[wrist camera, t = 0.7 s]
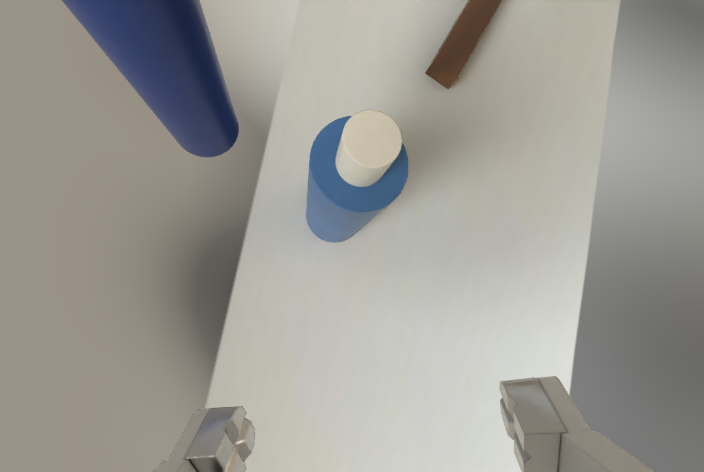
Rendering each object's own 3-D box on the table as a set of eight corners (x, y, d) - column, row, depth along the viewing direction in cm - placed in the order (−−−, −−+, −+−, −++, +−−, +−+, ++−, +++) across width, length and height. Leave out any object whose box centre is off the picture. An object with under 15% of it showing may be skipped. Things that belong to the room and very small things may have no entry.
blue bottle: (295, 223, 30) (287, 155, 13) (324, 177, 31) (350, 59, 14) (344, 252, 30) (396, 221, 14) (371, 205, 31) (450, 122, 15)
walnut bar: (424, 73, 34) (433, 61, 32) (479, -20, 37) (490, -36, 35) (448, 89, 35) (457, 78, 33) (501, -4, 38) (512, -19, 36)
